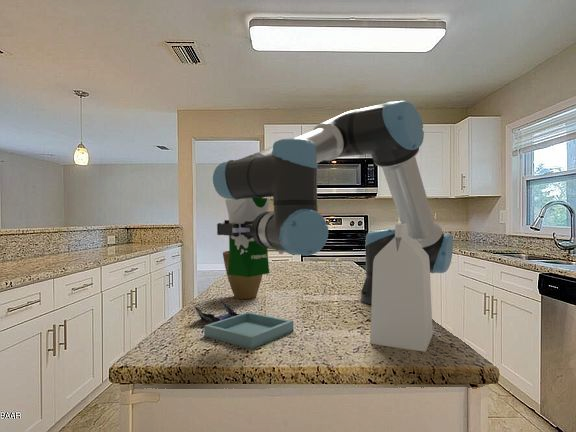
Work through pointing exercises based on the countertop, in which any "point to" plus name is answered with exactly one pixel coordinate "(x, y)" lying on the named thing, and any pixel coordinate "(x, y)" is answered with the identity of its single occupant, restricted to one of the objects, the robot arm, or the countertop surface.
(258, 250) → the milk carton
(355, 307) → the countertop surface
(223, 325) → the tray
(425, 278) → the milk
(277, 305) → the countertop surface
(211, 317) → the snack package
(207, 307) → the countertop surface
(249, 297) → the plant pot
